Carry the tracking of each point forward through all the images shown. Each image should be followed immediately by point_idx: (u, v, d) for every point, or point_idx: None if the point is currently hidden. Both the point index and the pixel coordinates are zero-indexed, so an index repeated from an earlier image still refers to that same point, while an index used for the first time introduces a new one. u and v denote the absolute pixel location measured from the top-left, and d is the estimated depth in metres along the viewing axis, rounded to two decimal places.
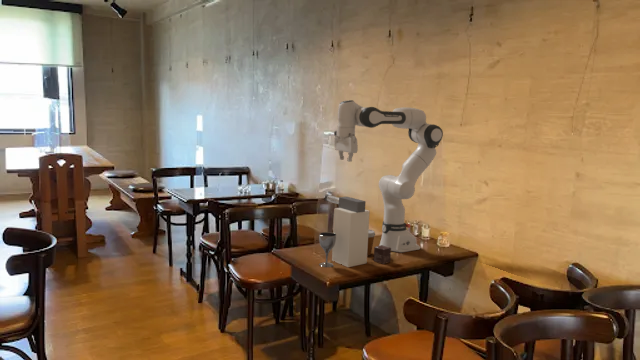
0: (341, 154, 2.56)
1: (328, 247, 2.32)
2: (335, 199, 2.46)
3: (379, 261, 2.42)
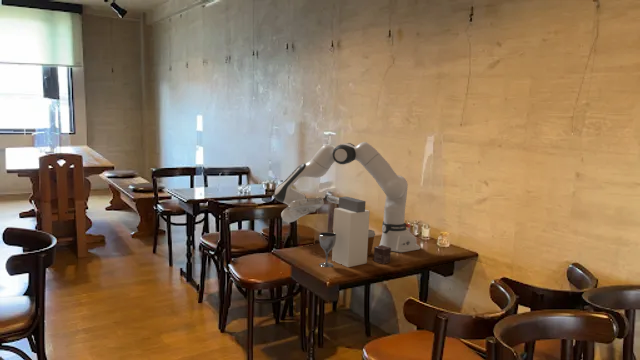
0: (319, 200, 2.67)
1: (328, 247, 2.32)
2: (335, 199, 2.46)
3: (379, 261, 2.42)
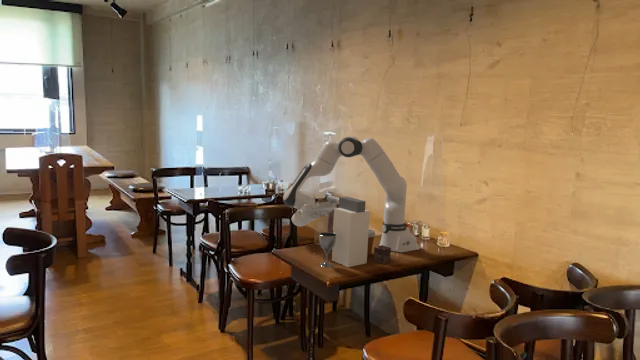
0: (331, 203, 2.59)
1: (328, 247, 2.32)
2: (335, 199, 2.46)
3: (379, 261, 2.42)
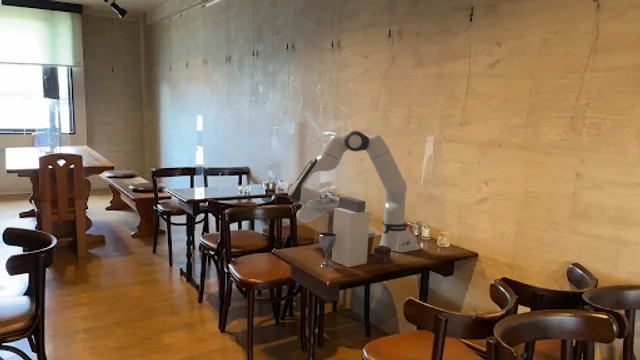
0: None
1: (328, 247, 2.32)
2: (335, 199, 2.46)
3: (379, 261, 2.42)
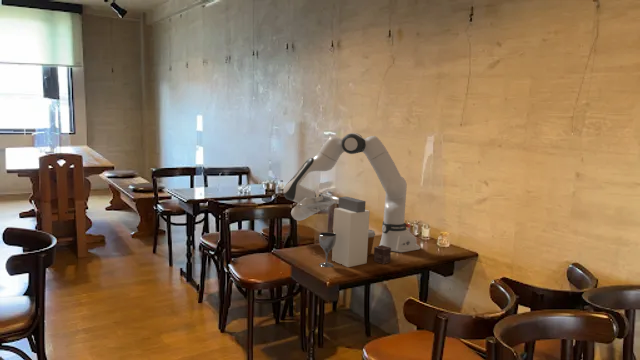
0: None
1: (328, 247, 2.32)
2: (329, 197, 2.49)
3: (379, 261, 2.42)
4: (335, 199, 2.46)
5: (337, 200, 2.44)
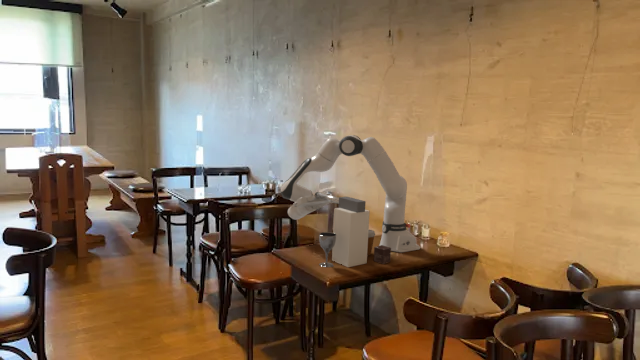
0: None
1: (328, 247, 2.32)
2: (324, 196, 2.52)
3: (379, 261, 2.42)
4: (331, 198, 2.48)
5: (332, 199, 2.47)
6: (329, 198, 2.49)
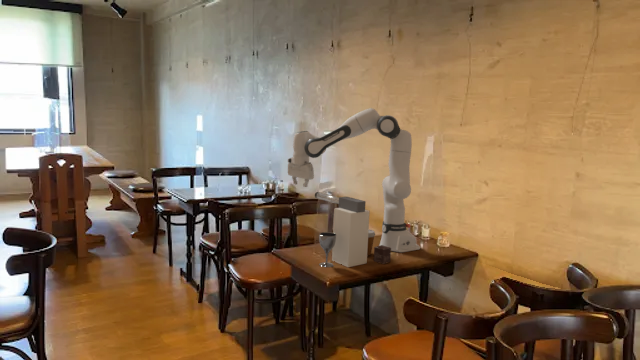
0: (295, 179, 2.78)
1: (328, 247, 2.32)
2: (324, 196, 2.52)
3: (379, 261, 2.42)
4: (331, 198, 2.48)
5: (332, 199, 2.47)
6: (329, 198, 2.49)
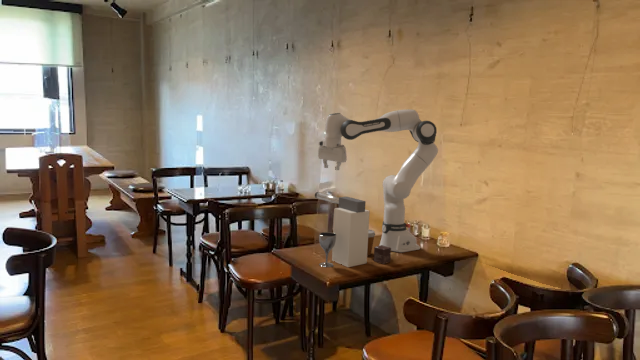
0: (325, 163, 2.72)
1: (328, 247, 2.32)
2: (324, 196, 2.52)
3: (379, 261, 2.42)
4: (331, 198, 2.48)
5: (332, 199, 2.47)
6: (329, 198, 2.49)
